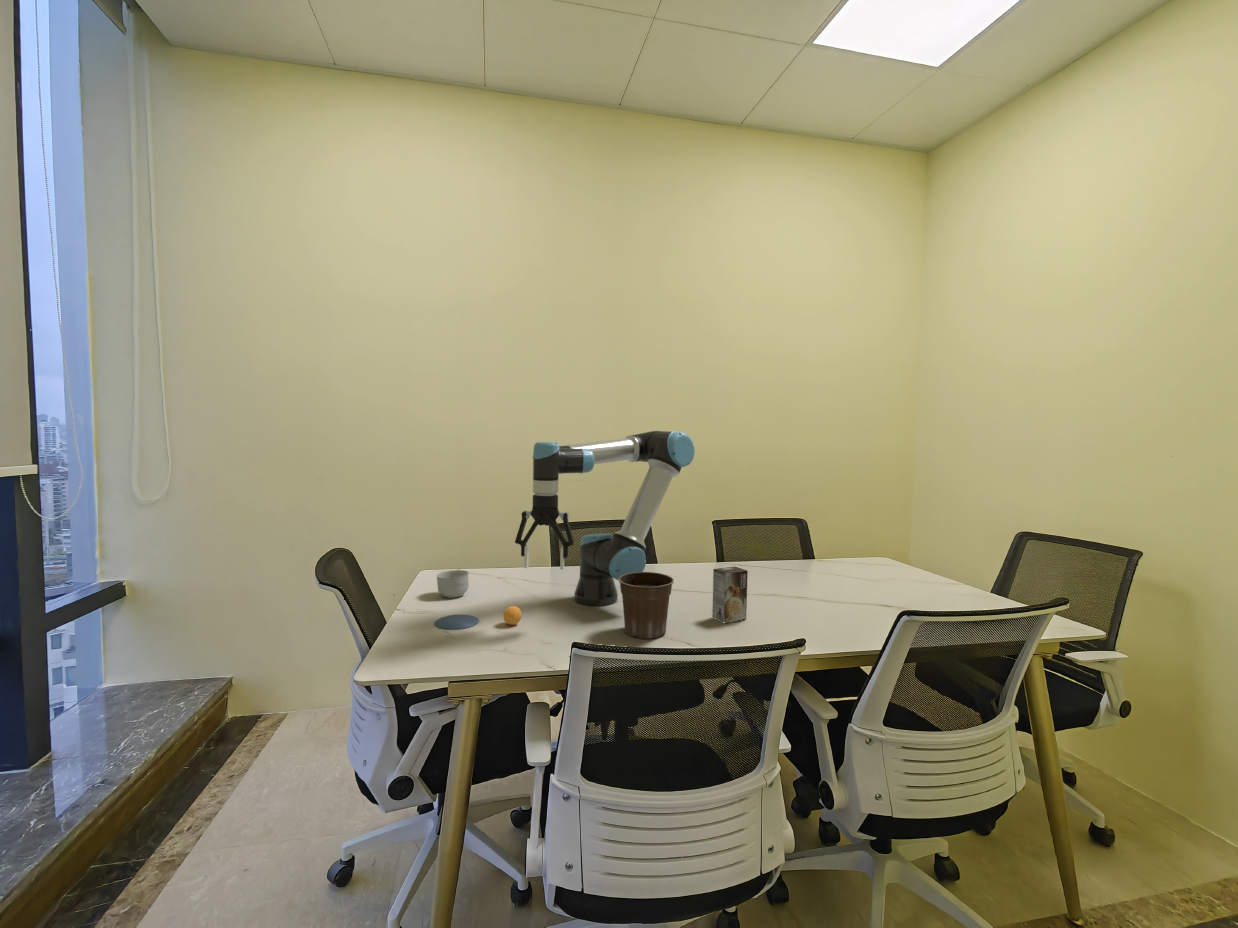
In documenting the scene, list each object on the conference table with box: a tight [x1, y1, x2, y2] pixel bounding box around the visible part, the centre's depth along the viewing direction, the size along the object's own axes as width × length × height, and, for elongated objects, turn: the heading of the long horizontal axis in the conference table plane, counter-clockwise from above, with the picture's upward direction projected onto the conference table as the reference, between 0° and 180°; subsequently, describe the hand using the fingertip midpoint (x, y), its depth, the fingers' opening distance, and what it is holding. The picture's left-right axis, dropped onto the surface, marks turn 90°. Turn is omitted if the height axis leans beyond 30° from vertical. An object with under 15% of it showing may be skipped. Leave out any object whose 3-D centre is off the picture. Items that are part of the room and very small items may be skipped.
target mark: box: [434, 613, 480, 631], centre depth 175 cm, size 13×13×1 cm
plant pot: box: [617, 571, 675, 640], centre depth 170 cm, size 16×16×16 cm
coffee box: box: [711, 566, 749, 623], centre depth 184 cm, size 9×6×16 cm
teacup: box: [436, 568, 470, 599], centre depth 203 cm, size 14×11×8 cm
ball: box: [502, 605, 523, 626], centre depth 174 cm, size 6×6×6 cm
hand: (544, 567), depth 173 cm, fingers open, 10 cm apart
